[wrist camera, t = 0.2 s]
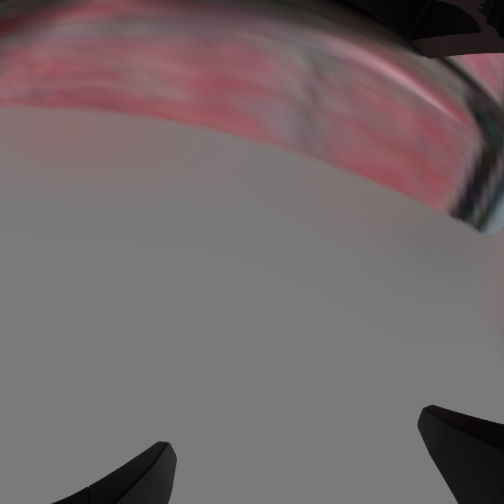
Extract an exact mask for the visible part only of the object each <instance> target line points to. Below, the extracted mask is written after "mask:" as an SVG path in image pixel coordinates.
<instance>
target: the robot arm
mask: <svg viewBox="0 0 504 504" xmlns="http://www.w3.org/2000/svg"><path fill="white" fill-rule="evenodd" d="M418 429H419V431H420V433H421V436H422V438H423V440H424V443H425V445H426V447H427V450H428V452H429V454H430V456H431V457H432V459H433V461H434V463H435V464H436V466H437V468H438V469H439V471H440V473H441V474H442V476H443V478H444V479H445V481H446V483H447V485H448V486H449V488H450V490H451V492H452V493H453V495H454V497H455V499H456V500H457V502H458V504H504V424H500V423H496V422H492V421H488V420H484V419H480V418H476V417H472V416H469V415H465V414H462V413H458V412H455V411H451V410H448V409H445V408H441V407H438V406H435V405H430V406H427V407H425V408H423V409H422V412H421V414H420V417H419V420H418ZM176 462H177V458H176V454H175V452H174V450H173V448H172V446H171V444H170V443H169V442H161V441H160V442H157V443H155V444H154V445H152V446H151V447H150V448H148V449H147V450H145V451H144V452H142V453H141V454H139V455H138V456H136V457H135V458H133V459H132V460H130V461H129V462H127V463H126V464H124V465H123V466H121V467H120V468H118V469H116V470H115V471H113V472H112V473H110V474H108V475H107V476H105V477H104V478H102V479H100V480H99V481H97V482H95V483H93V484H92V485H90V486H89V487H86V488H84V489H82V490H81V491H79V492H77V493H75V494H73V495H71V496H69V497H66V498H64V499H62V500H60V501H57V502H54V503H52V504H168V502H169V499H170V496H171V492H172V487H173V481H174V474H175V468H176Z"/></svg>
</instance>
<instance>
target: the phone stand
mask: <svg viewBox="0 0 504 504" xmlns="http://www.w3.org/2000/svg"><path fill="white" fill-rule="evenodd" d="M348 1H350V2H351V3H353V4H355V5H356V6H358V7H360V8H361V9H363V10H364V11H366V12H368V13H370V14H372V16H373V17H375V18H376V19H378V20H379V21H381V22H382V23H384V24H385V25H386V26H388V27H389V28H390V29H392V30H393V31H394V32H396V33H397V34H398V35H400V36H401V37H402V38H403V39H405V40H406V41H407V42H408V43H410V44H411V45H412V46H413V47H415V48H416V49H417V50H418V51H419V52H420V53H422V54H423V55H424V56H425V57H427V58H430V59H431V58H438V57H446V56H455V55H466V54H481V53H504V0H348Z"/></svg>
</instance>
